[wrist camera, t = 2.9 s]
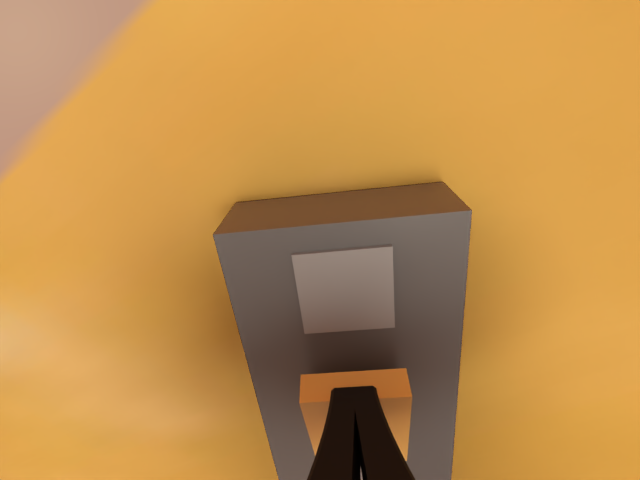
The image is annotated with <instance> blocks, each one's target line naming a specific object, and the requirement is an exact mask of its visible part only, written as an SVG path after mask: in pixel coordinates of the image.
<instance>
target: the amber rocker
mask: <svg viewBox="0 0 640 480" xmlns="http://www.w3.org/2000/svg"><path fill="white" fill-rule="evenodd" d="M358 386H374V387H375V388H376V389H377V393H378V397H379V400H380V403H381V406H382V409H383V412H384V415H385V417H386V420H387V422H388V425H389V427H390V429H391V432H392V434H393V436H394V438H395V440H396V442H397V444H398V447H399V449H400V451H401V453H402V455H403V457H404V459H405V461H407V455H408V443H409V430H410V418H411V406H412V393H411V388H410V383H409V379H408V374H407V369H406V368H399V369H383V370H367V371H351V372H335V373H319V374H303V375H301V378H300V398H299V404H300V407H301V411H302V414H303V417H304V421H305V424H306V427H307V430H308V434H309V437H310V440H311V444H312V447H313V450H314V454H315V456H316V453H317V449H318V446H319V443H320V439H321V436H322V433H323V429H324V425H325V422H326V418H327V413H328V408H329V403H330V396H331V390H332V389H334V388H341V387H358Z"/></svg>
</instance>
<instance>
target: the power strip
mask: <svg viewBox="0 0 640 480" xmlns="http://www.w3.org/2000/svg"><path fill="white" fill-rule="evenodd" d="M471 215H472V210H471V209H470V208H469V207H468V206H467V205H466V204H465V203H464V202H463V201H462V200H461V199H460V198H459V197H458V196H457V195H456V194H455V193H454V192H453V191H452V190H451V189H450V188H449V187H448V186H447V185H446V184H445V183H444V182H436V183H426V184H416V185H406V186H396V187H386V188H376V189H366V190H356V191H346V192H336V193H326V194H316V195H306V196H296V197H286V198H276V199H266V200H256V201H246V202H236V203H235V204H234V206H233V207H232V209H231V210H230V211H229V213H228V214H227V216H226V217H225V218H224V220H223V221H222V223H221V224H220V225H219V227H218V228H217V229H216V231H215V232H214V234H213V237H214V241H215V245H216V248H217V252H218V256H219V259H220V263H221V267H222V270H223V274H224V278H225V282H226V285H227V289H228V293H229V296H230V300H231V304H232V308H233V311H234V315H235V319H236V322H237V326H238V330H239V334H240V337H241V341H242V345H243V348H244V352H245V356H246V359H247V363H248V367H249V371H250V374H251V378H252V382H253V385H254V389H255V393H256V397H257V400H258V404H259V408H260V411H261V415H262V419H263V423H264V426H265V430H266V434H267V437H268V441H269V445H270V448H271V452H272V456H273V460H274V463H275V467H276V471H277V474H278V478H279V480H307V478H308V475H309V473H310V470H311V467H312V464H313V462H314V459H315V454H314V450H313V447H312V444H311V440H310V437H309V434H308V430H307V427H306V424H305V421H304V417H303V414H302V411H301V407H300V404H299V398H300V378H301V375H303V374H319V373H335V372H351V371H367V370H383V369H399V368H406V369H407V374H408V379H409V383H410V388H411V393H412V406H411V418H410V430H409V443H408V455H407V461H406V463H407V465H408V467H409V469H410V471H411V472H412V474H413V476H414V478H415V480H451V474H452V461H453V448H454V435H455V422H456V409H457V396H458V383H459V370H460V357H461V344H462V331H463V318H464V305H465V292H466V279H467V267H468V254H469V241H470V228H471ZM361 480H363V478H362V472H361Z"/></svg>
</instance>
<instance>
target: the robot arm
mask: <svg viewBox="0 0 640 480" xmlns="http://www.w3.org/2000/svg"><path fill="white" fill-rule="evenodd" d="M361 472H362V478H363V480H415V478H414V476H413V474H412V472H411V471H410V469H409V467H408V465H407V463H406V461H405V459H404V457H403V455H402V453H401V451H400V449H399V447H398V444H397V442H396V440H395V438H394V436H393V434H392V432H391V429H390V427H389V425H388V422H387V420H386V417H385V415H384V412H383V409H382V406H381V403H380V400H379V397H378V393H377V389H376V388H375V387H374V386H358V387H341V388H334V389H332V390H331V396H330V403H329V408H328V413H327V418H326V422H325V425H324V429H323V433H322V436H321V439H320V443H319V446H318V449H317V453H316V456H315V459H314V462H313V464H312V467H311V470H310V473H309V475H308V478H307V480H361Z"/></svg>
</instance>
